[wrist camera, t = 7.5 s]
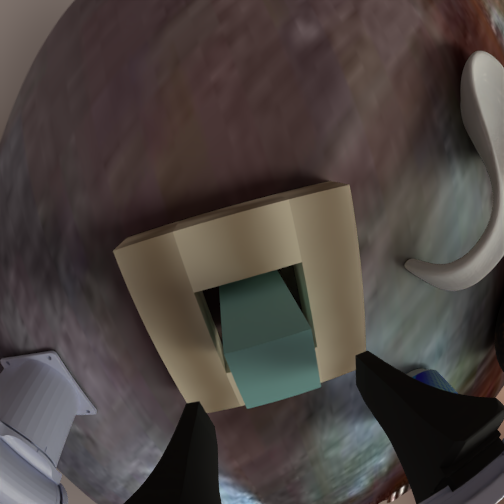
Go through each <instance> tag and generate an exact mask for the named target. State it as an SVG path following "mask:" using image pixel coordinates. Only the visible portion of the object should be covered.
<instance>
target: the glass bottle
mask: <svg viewBox="0 0 504 504" xmlns="http://www.w3.org/2000/svg"><path fill="white" fill-rule="evenodd" d="M495 350H496V355H497V359H498V362H499V365H500V367H501V369H502V370H503V372H504V299H503V301H502V304H501V307H500V310H499V313H498V317H497V321H496V327H495Z"/></svg>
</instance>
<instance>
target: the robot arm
mask: <svg viewBox="0 0 504 504" xmlns="http://www.w3.org/2000/svg"><path fill="white" fill-rule="evenodd" d="M355 359H356V385H357V387H358V389H359V391H360V393H361V395H362V397H363V399H364V401H365V403H366V405H367V406H368V408H369V409H370V411H371V412H372V414H373V415H374V417H375V418H376V420H377V421H378V422H379V424H380V425H381V427H382V428H383V430H384V431H385V433H386V435H387V436H388V438H389V440H390V441H391V443H392V445H393V447H394V450H395V452H396V454H397V456H398V458H399V460H400V462H401V465H402V467H403V469H404V471H405V474H406V476H407V479H408V481H409V484H410V487H411V489H412V492H413V495H414V498H415V501H416V504H497V503H498V502H499V501H500V500H501V499H502V498H503V497H504V439H503V440H501V439H500V438H499V437H500V435H501V434H500V432H499V431H498V430H497V429H498V428H499V426H500V425H501V423H502V422H503V420H504V405H503V404H502V403H501V402H500V401H499V400H498V399H496V398H487V397H474V396H467V395H461V394H457V393H453V392H449V391H445V390H442V389H438V388H436V387H433V386H430V385H428V384H425V383H423V382H421V381H419V380H416V379H414V378H412V377H410V376H408V375H406V374H405V373H403V372H401V371H399V370H398V369H396V368H394V367H392V366H391V365H389V364H388V363H386V362H384V361H383V360H381V359H380V358H378V357H377V356H375V355H374V354H372V353H371V352H369V351H365V352H363V353H360V354H358V355H355ZM0 362H1V364H2V366H3V367H4V369H3V371H2V372H1V373H0V504H68V497H67V493H66V490H65V488H64V487H63V485H62V484H61V483H60V480H61V476H62V474H61V473H60V472H58V471H57V470H56V467H57V464H58V461H59V458H60V455H61V452H62V449H63V446H64V444H65V441H66V438H67V436H68V433H69V430H70V428H71V425H72V423H73V420H74V418H75V415H90V414H96V412H97V409H96V408H95V407H94V406H93V404H92V403H91V402H90V400H89V399H88V398H87V396H86V395H85V394H84V392H83V391H82V390H81V388H80V387H79V386H78V384H77V383H76V381H75V380H74V378H73V377H72V376H71V374H70V373H69V371H68V370H67V368H66V367H65V365H64V364H63V362H62V360H61V359H60V357H59V356H58V354H57V353H56V352H55V351H46V352H40V353H34V354H28V355H21V356H14V357H7V358H2V359H1V360H0ZM124 504H221V498H220V493H219V481H218V447H217V439H216V432H215V426H214V425H213V423H212V421H211V420H210V418H209V416H208V415H207V413H206V411H205V410H204V408H203V406H202V405H201V403H200V401H197V402H191V403H187V404H186V405H185V408H184V410H183V413H182V415H181V418H180V420H179V423H178V425H177V427H176V430H175V432H174V434H173V436H172V438H171V440H170V442H169V444H168V446H167V448H166V450H165V452H164V454H163V456H162V457H161V459H160V461H159V462H158V464H157V465H156V467H155V468H154V470H153V471H152V473H151V474H150V475H149V477H148V478H147V479H146V481H145V482H144V483H143V484H142V486H141V487H140V488H139V489H138V490H137V491H136V492H135V493H134V494H133V495H132V496H131V497H130V498H129V499H128V500H127V501H126V502H125V503H124Z"/></svg>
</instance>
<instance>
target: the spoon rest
mask: <svg viewBox="0 0 504 504" xmlns="http://www.w3.org/2000/svg"><path fill="white" fill-rule="evenodd" d="M460 108H461V116H462V120H463V124H464V127H465V129H466V131H467V133H468V135H469V137H470V138H471V140H472V142H473V144H474V146H475V148H476V150H477V152H478V153H479V155H480V157H481V159H482V161H483V163H484V165H485V167H486V170H487V172H488V175H489V178H490V181H491V185H492V191H493V207H492V213H491V217H490V221H489V223H488V226H487V228H486V230H485V231H484V233H483V235H482V236H481V238H480V239H479V241H478V242H477V243H476V245H475V246H474V247H473V248H472V249H471V250H470V251H469V252H468V253H467V254H466V255H464V256H463V257H461V258H460V259H458V260H456V261H454V262H451V263H448V264H431V263H427V262H424V261H420V260H417V259H409V260H408V261H406V263H405V268H406V269H407V270H408V271H410V272H411V273H413V274H414V275H416V276H417V277H419V278H420V279H422V280H424V281H425V282H427V283H429V284H431V285H433V286H435V287H437V288H439V289H442V290H447V291H458V290H462V289H466V288H468V287H470V286H473V285H474V284H476V283H477V282H479V281H480V280H481V279H483V278H484V277H485V276H486V275H487V274H488V273H489V272H490V271H491V270H492V269H493V268H494V267H495V266H496V265H497V263H498V262H499V261H500V260H501V258H502V257H503V255H504V68H503V66H502V65H501V64H500V63H499V62H498V61H497V60H496V59H495V58H494V57H493V56H492V55H490V54H489V53H487V52H484V51H476V52H474V53H473V54H472V55H471V56H470V57H469V58H468V60H467V62H466V64H465V66H464V69H463V72H462V77H461V102H460Z"/></svg>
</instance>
